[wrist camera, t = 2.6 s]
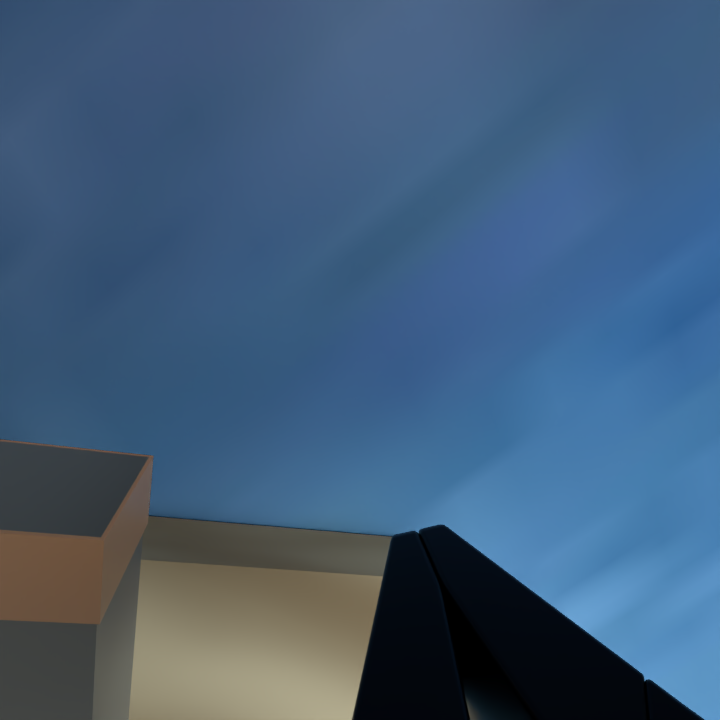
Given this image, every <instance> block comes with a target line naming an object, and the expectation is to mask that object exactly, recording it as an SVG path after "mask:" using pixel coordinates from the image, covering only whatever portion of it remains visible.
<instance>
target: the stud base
mask: <svg viewBox="0 0 720 720" xmlns="http://www.w3.org/2000/svg"><path fill="white" fill-rule="evenodd" d="M391 538H392V537H389V536H377V535H365V534H353V533H342V532H330V531H318V530H306V529H295V528H283V527H271V526H259V525H247V524H236V523H224V522H212V521H200V520H189V519H177V518H165V517H153V516H149V518H148V524H147V526H146V528H145V530H144V533H143V540H142V553H141V566H140V579H139V592H138V604H137V617H136V630H135V643H134V656H133V668H132V681H131V694H130V707H129V720H352V717H353V712H354V707H355V703H356V698H357V694H358V689H359V684H360V680H361V675H362V670H363V666H364V661H365V657H366V652H367V647H368V643H369V638H370V634H371V629H372V624H373V620H374V615H375V610H376V606H377V601H378V597H379V592H380V587H381V583H382V578H383V574H384V569H385V564H386V560H387V555H388V550H389V546H390V541H391Z"/></svg>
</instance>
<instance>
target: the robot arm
mask: <svg viewBox="0 0 720 720" xmlns="http://www.w3.org/2000/svg"><path fill="white" fill-rule="evenodd" d="M352 720H704V719H703V718H701V717H700V716H699V715H697V714H696V713H695V712H693V711H692V710H690V709H689V708H688V707H686V706H685V705H683V704H682V703H681V702H679V701H678V700H677V699H675V698H674V697H673V696H671V695H670V694H669V693H667V692H666V691H665V690H663V689H662V688H661V687H659V686H658V685H657V684H655V683H654V682H653V681H651V680H649V679H648V680H646V681H644V676H643V674H642V673H640V672H639V671H638V670H636V669H635V668H634V667H632V666H631V665H630V664H628V663H627V662H626V661H625V660H623V659H622V658H621V657H619V656H618V655H617V654H615V653H614V652H613V651H611V650H610V649H609V648H607V647H606V646H605V645H603V644H602V643H601V642H599V641H598V640H597V639H595V638H594V637H593V636H591V635H590V634H589V633H587V632H586V631H585V630H583V629H582V628H581V627H579V626H578V625H577V624H575V623H574V622H573V621H571V620H570V619H569V618H567V617H566V616H565V615H563V614H562V613H561V612H559V611H558V610H557V609H555V608H554V607H553V606H551V605H550V604H549V603H547V602H546V601H545V600H543V599H542V598H541V597H539V596H538V595H537V594H535V593H534V592H533V591H531V590H530V589H529V588H527V587H526V586H525V585H523V584H522V583H521V582H519V581H518V580H517V579H516V578H514V577H513V576H512V575H510V574H509V573H508V572H506V571H505V570H504V569H502V568H501V567H500V566H498V565H497V564H496V563H494V562H493V561H492V560H490V559H489V558H488V557H486V556H485V555H484V554H482V553H481V552H480V551H478V550H477V549H476V548H474V547H473V546H472V545H470V544H469V543H468V542H466V541H465V540H464V539H462V538H461V537H460V536H458V535H457V534H456V533H454V532H453V531H452V530H450V529H449V528H448V527H446V526H445V525H436V526H431V527H427V528H423V529H421V530H420V531H419V533H417V532H416V531H409V532H405V533H401V534H396V535H394V536H393V537H392V538H391V541H390V546H389V550H388V555H387V560H386V564H385V569H384V574H383V578H382V583H381V587H380V592H379V597H378V601H377V606H376V610H375V615H374V620H373V624H372V629H371V634H370V638H369V643H368V647H367V652H366V657H365V661H364V666H363V670H362V675H361V680H360V684H359V689H358V694H357V698H356V703H355V707H354V712H353V717H352Z"/></svg>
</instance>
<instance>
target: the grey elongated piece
mask: <svg viewBox="0 0 720 720" xmlns="http://www.w3.org/2000/svg"><path fill="white" fill-rule="evenodd" d="M152 468H153V456H151V455H141V454H132V453H123V452H113V451H104V450H95V449H85V448H76V447H67V446H57V445H48V444H39V443H29V442H20V441H11V440H1V439H0V720H129V707H130V694H131V681H132V668H133V656H134V643H135V630H136V617H137V604H138V592H139V579H140V566H141V553H142V540H143V533H144V530H145V528H146V526H147V524H148V518H149V505H150V493H151V481H152Z"/></svg>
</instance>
